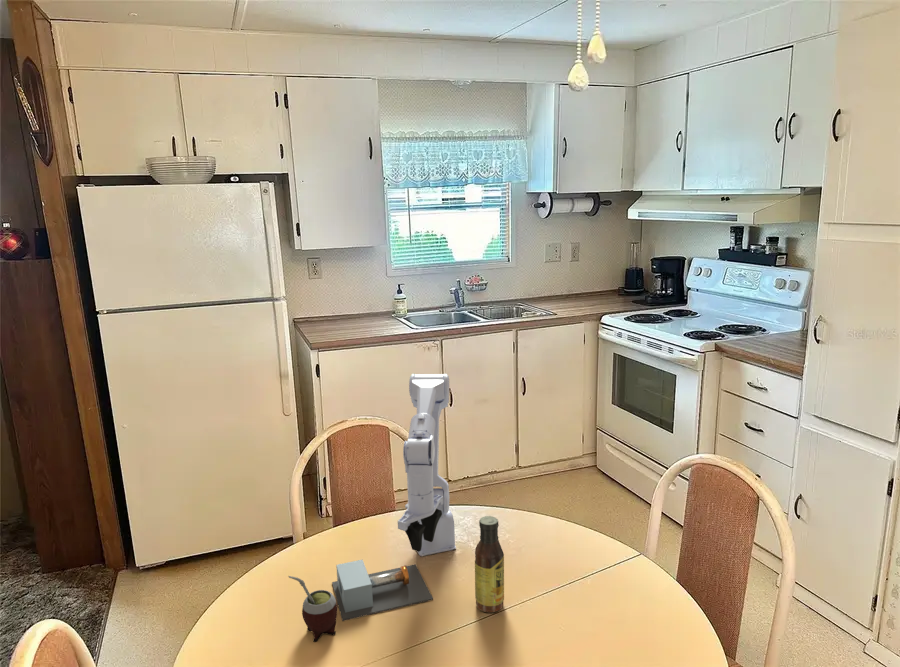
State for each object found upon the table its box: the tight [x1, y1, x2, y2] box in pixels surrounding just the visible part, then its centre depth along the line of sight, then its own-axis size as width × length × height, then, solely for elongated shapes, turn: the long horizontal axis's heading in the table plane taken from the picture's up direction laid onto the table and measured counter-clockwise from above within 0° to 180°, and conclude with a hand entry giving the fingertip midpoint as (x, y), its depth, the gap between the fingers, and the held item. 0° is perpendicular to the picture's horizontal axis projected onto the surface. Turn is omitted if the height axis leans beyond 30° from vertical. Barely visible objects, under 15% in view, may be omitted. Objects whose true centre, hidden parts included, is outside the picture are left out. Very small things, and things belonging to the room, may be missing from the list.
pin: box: [369, 565, 409, 588], centre depth 142 cm, size 11×4×4 cm, turn 109°
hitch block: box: [335, 559, 373, 613], centre depth 140 cm, size 6×10×6 cm, turn 19°
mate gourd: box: [288, 575, 339, 643], centre depth 128 cm, size 8×8×15 cm
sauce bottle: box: [474, 515, 505, 614], centre depth 135 cm, size 6×6×20 cm
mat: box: [331, 564, 434, 622], centre depth 143 cm, size 20×14×1 cm
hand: (422, 545), depth 144 cm, fingers open, 4 cm apart
